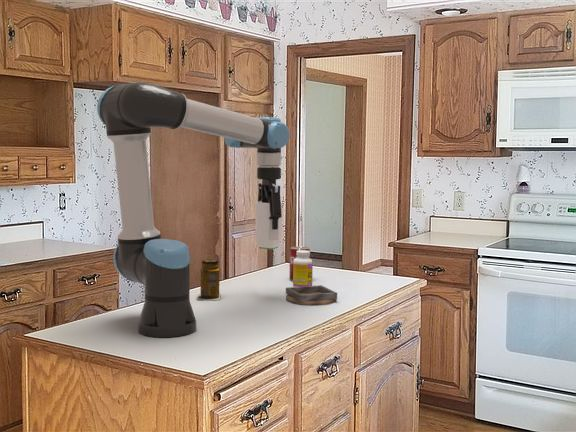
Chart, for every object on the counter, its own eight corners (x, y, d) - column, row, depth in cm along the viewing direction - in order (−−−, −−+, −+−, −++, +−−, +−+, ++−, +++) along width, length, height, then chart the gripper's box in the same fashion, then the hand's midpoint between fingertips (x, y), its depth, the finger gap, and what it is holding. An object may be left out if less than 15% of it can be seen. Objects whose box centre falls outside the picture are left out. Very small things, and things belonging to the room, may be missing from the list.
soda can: (309, 282, 244) (310, 249, 243) (289, 282, 244) (289, 249, 243) (309, 278, 251) (309, 246, 250) (289, 278, 251) (289, 246, 250)
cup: (263, 246, 221) (263, 200, 220) (283, 247, 218) (284, 201, 217) (253, 249, 215) (253, 202, 213) (273, 250, 212) (274, 203, 210)
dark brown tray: (297, 307, 206) (297, 297, 206) (278, 295, 221) (279, 286, 221) (344, 303, 212) (344, 293, 212) (323, 292, 227) (324, 283, 227)
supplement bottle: (309, 290, 230) (310, 253, 229) (290, 289, 232) (291, 252, 230) (314, 286, 236) (314, 250, 235) (295, 285, 238) (296, 249, 237)
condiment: (221, 294, 222) (221, 258, 221) (219, 300, 214) (219, 263, 213) (199, 294, 222) (199, 258, 221) (196, 300, 214) (196, 262, 213)
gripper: (293, 167, 205) (292, 241, 208) (268, 165, 225) (268, 233, 228) (269, 168, 202) (269, 242, 205) (247, 165, 222) (246, 233, 225)
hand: (268, 237), depth 216 cm, fingers closed on cup, 9 cm apart
